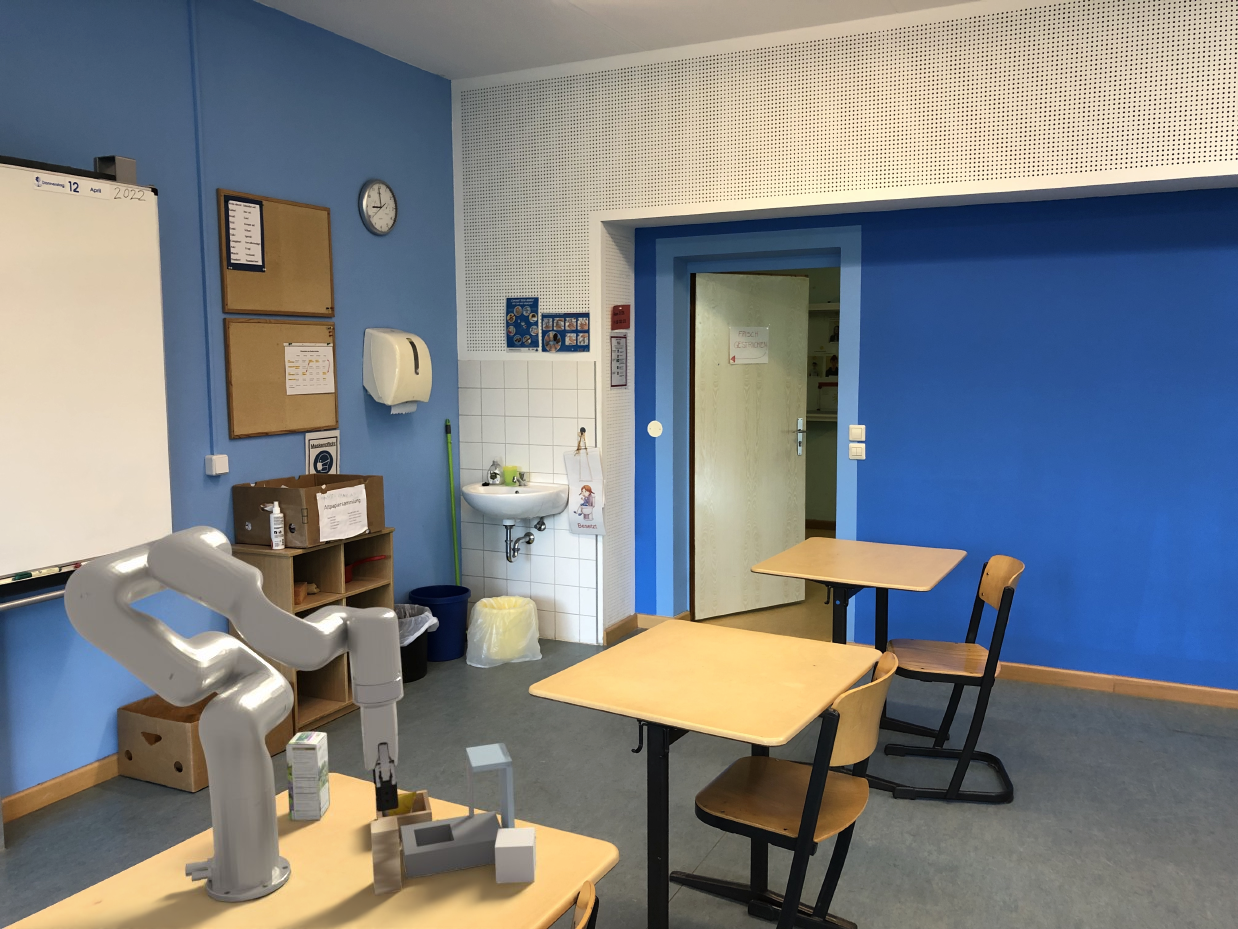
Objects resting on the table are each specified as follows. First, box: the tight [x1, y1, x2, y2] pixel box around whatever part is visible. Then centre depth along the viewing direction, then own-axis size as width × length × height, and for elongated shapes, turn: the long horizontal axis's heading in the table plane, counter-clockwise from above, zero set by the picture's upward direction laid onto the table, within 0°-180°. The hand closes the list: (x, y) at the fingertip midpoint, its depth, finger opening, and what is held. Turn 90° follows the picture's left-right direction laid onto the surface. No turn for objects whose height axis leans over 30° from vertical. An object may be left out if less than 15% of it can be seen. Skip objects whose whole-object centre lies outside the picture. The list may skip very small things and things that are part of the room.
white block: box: [494, 826, 537, 884], centre depth 151 cm, size 6×6×6 cm
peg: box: [370, 818, 402, 896], centre depth 147 cm, size 4×4×10 cm
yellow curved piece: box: [383, 790, 417, 817], centre depth 166 cm, size 5×5×10 cm
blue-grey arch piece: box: [465, 742, 516, 829], centre depth 159 cm, size 6×8×16 cm
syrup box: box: [285, 731, 331, 821], centre depth 172 cm, size 6×6×14 cm
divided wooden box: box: [374, 789, 433, 840], centre depth 167 cm, size 9×9×4 cm
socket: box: [400, 810, 502, 880], centre depth 157 cm, size 16×10×4 cm, turn 107°
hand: (385, 795), depth 146 cm, fingers open, 9 cm apart
